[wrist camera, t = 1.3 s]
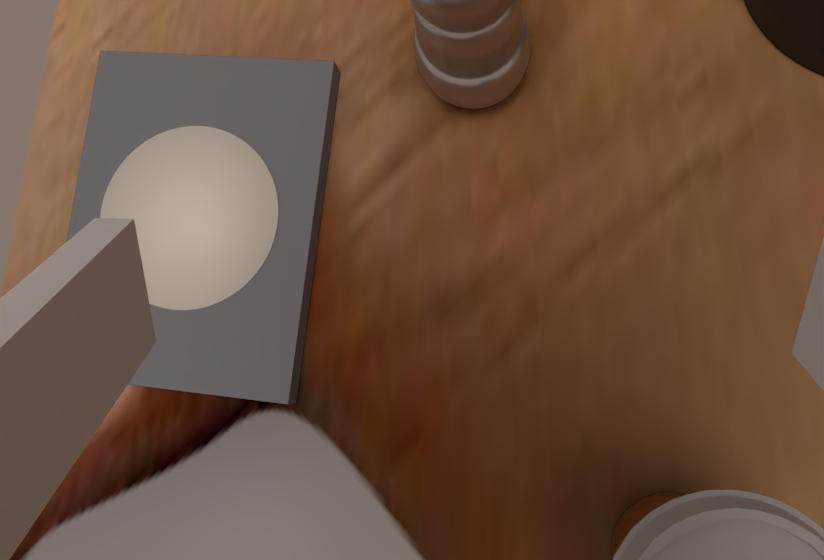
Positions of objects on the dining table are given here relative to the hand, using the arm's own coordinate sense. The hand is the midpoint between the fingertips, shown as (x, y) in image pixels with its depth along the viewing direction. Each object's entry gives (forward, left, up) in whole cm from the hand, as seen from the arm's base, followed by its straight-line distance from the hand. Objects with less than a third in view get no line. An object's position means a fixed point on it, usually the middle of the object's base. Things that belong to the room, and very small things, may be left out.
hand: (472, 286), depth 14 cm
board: (+7, -18, -26) cm, 33 cm away
